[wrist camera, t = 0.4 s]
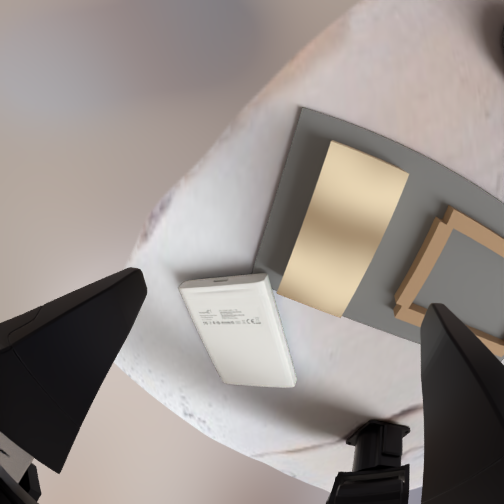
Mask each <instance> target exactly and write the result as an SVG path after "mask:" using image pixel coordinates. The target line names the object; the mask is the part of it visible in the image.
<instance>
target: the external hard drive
mask: <svg viewBox="0 0 504 504" xmlns="http://www.w3.org/2000/svg"><path fill="white" fill-rule="evenodd" d="M178 288H179V291H180V293H181V295H182V298H183V300H184V302H185V304H186V307H187V309H188V311H189V313H190V316H191V318H192V320H193V322H194V325H195V327H196V329H197V331H198V333H199V335H200V337H201V339H202V342H203V344H204V346H205V348H206V350H207V352H208V354H209V356H210V358H211V360H212V362H213V364H214V366H215V368H216V370H217V372H218V374H219V376H220V377H221V379H222V381H223V382H224V383H226V384H234V385H246V386H261V387H280V388H291V387H294V386H295V384H296V381H297V376H296V373H295V369H294V366H293V362H292V358H291V355H290V351H289V348H288V344H287V340H286V337H285V334H284V330H283V326H282V323H281V319H280V316H279V312H278V309H277V305H276V302H275V298H274V295H273V291H272V288H271V283H270V280H269V277H268V274H266V273H259V274H249V275H238V276H228V277H218V278H207V279H197V280H188V281H185V282H183V283H182V284H181V285H180V286H179V287H178Z"/></svg>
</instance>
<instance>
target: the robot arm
mask: <svg viewBox="0 0 504 504" xmlns="http://www.w3.org/2000/svg"><path fill="white" fill-rule="evenodd" d="M146 295H147V287H146V283H145V280H144V276H143V273H142V271H141V270H140V269H138V268H132V267H130V268H127V269H124V270H122V271H120V272H117V273H115V274H113V275H110V276H108V277H105V278H103V279H101V280H98V281H96V282H94V283H92V284H89V285H87V286H85V287H83V288H80V289H78V290H75V291H73V292H71V293H69V294H66V295H64V296H62V297H60V298H57V299H55V300H53V301H51V302H48V303H46V304H44V305H43V306H40V307H37V308H35V309H33V310H31V311H28V312H26V313H24V314H22V315H19V316H17V317H14V318H12V319H10V320H7V321H4V322H2V323H0V504H39V503H37V501H38V499H39V497H40V496H41V490H40V485H39V480H38V474H37V469H36V466H35V465H34V464H32V461H33V459H34V458H35V459H37V460H38V461H39V462H41V463H42V464H44V465H45V466H47V467H48V468H50V469H52V470H53V471H55V472H56V473H58V474H60V472H61V470H62V468H63V466H64V463H65V461H66V459H67V456H68V454H69V452H70V450H71V447H72V445H73V443H74V441H75V438H76V436H77V434H78V432H79V429H80V427H81V425H82V423H83V421H84V419H85V417H86V415H87V412H88V410H89V408H90V406H91V404H92V402H93V400H94V398H95V396H96V394H97V392H98V390H99V388H100V386H101V384H102V383H103V381H104V379H105V377H106V375H107V373H108V371H109V369H110V367H111V366H112V363H113V362H114V360H115V358H116V356H117V354H118V353H119V351H120V349H121V347H122V345H123V344H124V342H125V340H126V338H127V336H128V334H129V333H130V331H131V329H132V326H133V324H134V322H135V320H136V317H137V315H138V313H139V311H140V309H141V306H142V304H143V302H144V300H145V298H146ZM420 341H421V382H422V394H423V410H424V472H423V487H422V498H421V504H504V365H503V364H502V363H501V362H500V361H499V359H498V358H497V357H496V356H495V355H494V354H493V353H492V352H491V351H490V350H489V349H488V348H487V346H486V345H485V344H484V343H483V342H482V341H481V340H480V339H479V338H478V337H477V336H476V335H475V334H474V333H473V332H472V331H471V330H470V329H469V328H468V327H467V326H466V325H465V324H464V323H463V322H462V321H461V320H460V319H459V318H458V317H457V316H456V315H455V314H454V313H453V312H452V311H451V310H449V309H448V308H447V307H446V306H445V305H444V304H442V303H431V304H430V305H429V307H428V309H427V311H426V314H425V316H424V319H423V321H422V323H421V327H420ZM408 433H410V428H408V427H403V426H398V425H393V424H388V423H383V422H379V421H375V420H371V421H369V422H368V423H366V424H365V425H364V426H363V427H362V428H361V429H359V430H358V431H357V432H356V433H355V434H353V435H352V436H351V437H350V438H348V439H347V440H346V444H348V445H352V446H355V454H354V461H353V469H352V472H338V475H337V477H335V482H334V485H333V488H332V491H331V493H330V496H329V497H328V500H327V502H326V504H408V497H409V464H406V465H404V466H401V455H402V438H403V437H404V436H406V435H407V434H408ZM403 481H404V482H403Z"/></svg>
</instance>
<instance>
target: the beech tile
mask: <svg viewBox="0 0 504 504" xmlns="http://www.w3.org/2000/svg"><path fill="white" fill-rule="evenodd" d="M408 176H409V173H407V172H406V171H404V170H403V169H401V168H399V167H397V166H395V165H393V164H391V163H388V162H386V161H384V160H382V159H379V158H377V157H375V156H372V155H370V154H367V153H365V152H363V151H360V150H358V149H355V148H353V147H350V146H347V145H345V144H342V143H339V142H337V141H334V140H332V141H331V143H330V146H329V149H328V152H327V155H326V158H325V161H324V164H323V167H322V170H321V173H320V176H319V179H318V182H317V185H316V187H315V190H314V193H313V196H312V199H311V202H310V205H309V207H308V210H307V213H306V216H305V219H304V221H303V224H302V227H301V230H300V232H299V235H298V238H297V241H296V243H295V246H294V249H293V251H292V254H291V257H290V259H289V262H288V265H287V267H286V270H285V273H284V275H283V278H282V281H281V283H280V286H279V288H278V291H277V294H279V295H282V296H284V297H287V298H289V299H292V300H295V301H297V302H300V303H302V304H305V305H308V306H310V307H313V308H315V309H318V310H321V311H323V312H326V313H329V314H331V315H334V316H337V317H339V318H341V316H342V314H343V313H344V311H345V309H346V307H347V306H348V304H349V302H350V300H351V298H352V297H353V295H354V293H355V291H356V289H357V287H358V286H359V284H360V282H361V280H362V278H363V276H364V274H365V272H366V270H367V268H368V266H369V264H370V262H371V260H372V258H373V256H374V254H375V252H376V250H377V248H378V246H379V244H380V242H381V239H382V237H383V235H384V233H385V231H386V229H387V226H388V224H389V222H390V220H391V217H392V215H393V213H394V211H395V208H396V206H397V203H398V201H399V199H400V196H401V194H402V191H403V189H404V186H405V184H406V181H407V179H408Z"/></svg>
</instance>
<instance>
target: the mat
mask: <svg viewBox="0 0 504 504" xmlns="http://www.w3.org/2000/svg"><path fill="white" fill-rule="evenodd" d="M332 140H334V141H337V142H339V143H342V144H345V145H347V146H350V147H353V148H355V149H358V150H360V151H363V152H365V153H367V154H370V155H372V156H375V157H377V158H379V159H382V160H384V161H386V162H388V163H391V164H393V165H395V166H397V167H399V168H401V169H403V170H404V171H406V172H407V173H409V176H408V179H407V181H406V184H405V186H404V189H403V191H402V194H401V196H400V199H399V201H398V203H397V206H396V208H395V211H394V213H393V215H392V217H391V220H390V222H389V224H388V226H387V229H386V231H385V233H384V235H383V237H382V239H381V242H380V244H379V246H378V248H377V250H376V252H375V254H374V256H373V258H372V260H371V262H370V264H369V266H368V268H367V270H366V272H365V274H364V276H363V278H362V280H361V282H360V284H359V286H358V287H357V289H356V291H355V293H354V295H353V297H352V298H351V300H350V302H349V304H348V306H347V307H346V309H345V311H344V313H343V314H342V316H343V317H346V318H349V319H351V320H354V321H357V322H360V323H362V324H365V325H368V326H370V327H373V328H376V329H379V330H382V331H384V332H387V333H390V334H393V335H395V336H398V337H401V338H404V339H407V340H410V341H412V342H415V343H418V344H421V341H420V327H421V323H422V321H423V319H424V316H425V314H426V311H427V309H428V307H429V305H430V304H431V303H442V304H444V305H445V306H446V307H447V308H448V309H449V310H451V311H452V312H453V313H454V314H455V315H456V316H457V317H458V318H459V319H460V320H461V321H462V322H463V323H464V324H465V325H466V326H467V327H468V328H469V329H470V330H471V331H472V332H473V333H474V334H475V335H476V336H477V337H478V338H479V339H480V340H481V341H482V342H483V343H484V344H485V345H486V346H487V348H488V349H489V350H490V351H491V352H492V353H493V354H494V355H495V356H496V357H497V358H498V359H499V361H500V362H501V361H502V360H503V359H504V204H503V203H502V202H500V201H499V200H497V199H496V198H494V197H493V196H491V195H490V194H488V193H487V192H485V191H484V190H482V189H481V188H479V187H478V186H476V185H475V184H473V183H471V182H470V181H468V180H466V179H465V178H463V177H461V176H460V175H458V174H456V173H455V172H453V171H451V170H449V169H448V168H446V167H444V166H442V165H440V164H438V163H437V162H435V161H433V160H431V159H429V158H427V157H425V156H423V155H421V154H419V153H417V152H415V151H413V150H411V149H409V148H407V147H405V146H403V145H401V144H398V143H396V142H394V141H392V140H390V139H387V138H385V137H383V136H380V135H378V134H376V133H373V132H371V131H368V130H366V129H363V128H361V127H358V126H356V125H353V124H350V123H348V122H345V121H342V120H340V119H337V118H334V117H331V116H328V115H325V114H322V113H319V112H316V111H313V110H310V109H307V108H303V107H302V111H301V114H300V117H299V121H298V124H297V127H296V131H295V134H294V137H293V141H292V144H291V147H290V150H289V154H288V157H287V160H286V164H285V167H284V170H283V173H282V177H281V180H280V183H279V186H278V190H277V193H276V196H275V200H274V203H273V206H272V209H271V213H270V216H269V219H268V222H267V225H266V229H265V232H264V235H263V238H262V242H261V245H260V248H259V251H258V255H257V258H256V261H255V264H254V267H253V271H252V274H259V273H266V274H268V277H269V280H270V283H271V288H272V289H273V290H276V291H278V288H279V286H280V283H281V281H282V278H283V275H284V273H285V270H286V267H287V265H288V262H289V259H290V257H291V254H292V251H293V249H294V246H295V243H296V241H297V238H298V235H299V232H300V230H301V227H302V224H303V221H304V219H305V216H306V213H307V210H308V207H309V205H310V202H311V199H312V196H313V193H314V190H315V187H316V185H317V182H318V179H319V176H320V173H321V170H322V167H323V164H324V161H325V158H326V155H327V152H328V149H329V146H330V143H331V141H332Z"/></svg>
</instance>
